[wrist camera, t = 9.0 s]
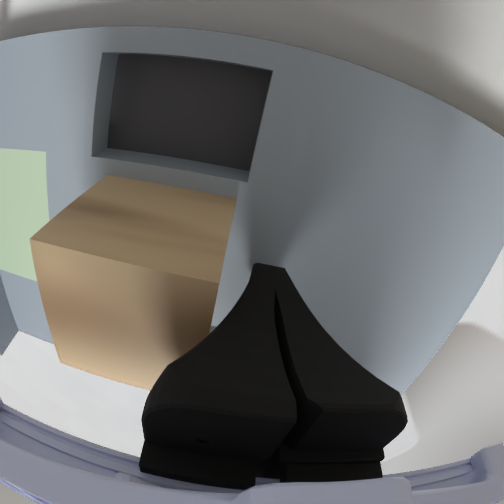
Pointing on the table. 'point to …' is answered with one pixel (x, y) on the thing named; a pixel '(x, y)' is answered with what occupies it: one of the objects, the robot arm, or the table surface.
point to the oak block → (131, 276)
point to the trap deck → (260, 175)
